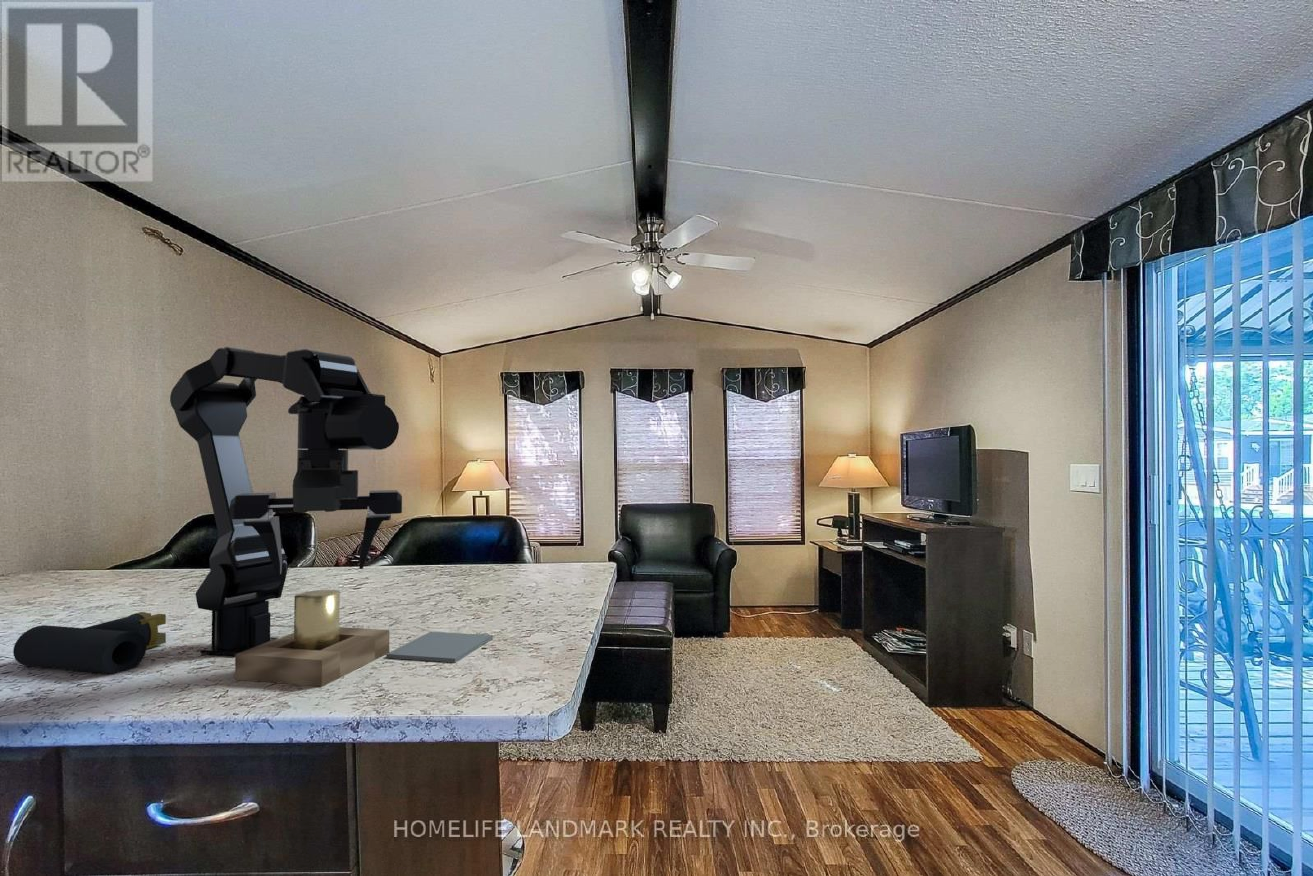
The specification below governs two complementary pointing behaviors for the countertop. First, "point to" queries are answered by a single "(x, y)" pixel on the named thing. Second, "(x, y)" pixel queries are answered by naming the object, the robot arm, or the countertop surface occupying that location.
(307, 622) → the end plug
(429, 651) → the mat
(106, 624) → the pipe connector
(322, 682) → the housing
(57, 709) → the countertop surface
